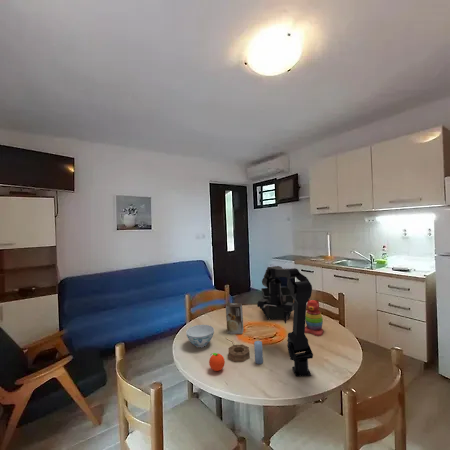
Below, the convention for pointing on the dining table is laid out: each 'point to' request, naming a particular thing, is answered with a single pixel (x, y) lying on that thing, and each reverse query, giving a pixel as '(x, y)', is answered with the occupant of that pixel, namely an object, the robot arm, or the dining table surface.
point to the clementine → (216, 362)
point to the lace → (230, 340)
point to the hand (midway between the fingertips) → (276, 321)
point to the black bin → (277, 311)
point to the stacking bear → (313, 318)
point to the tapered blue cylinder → (258, 352)
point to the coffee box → (234, 318)
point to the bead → (238, 353)
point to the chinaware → (200, 334)
